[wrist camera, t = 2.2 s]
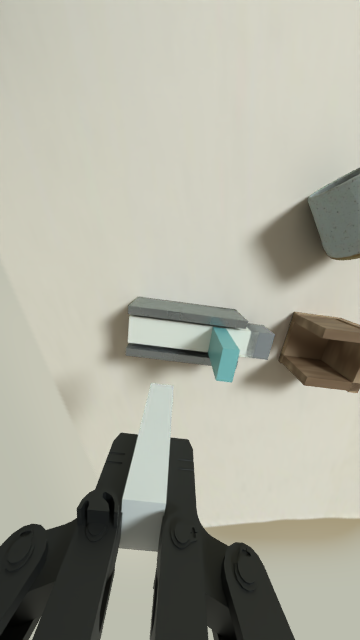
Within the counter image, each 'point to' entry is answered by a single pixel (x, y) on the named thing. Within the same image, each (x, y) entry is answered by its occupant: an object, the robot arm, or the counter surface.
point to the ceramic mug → (339, 216)
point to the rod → (204, 340)
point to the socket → (323, 351)
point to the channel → (180, 313)
